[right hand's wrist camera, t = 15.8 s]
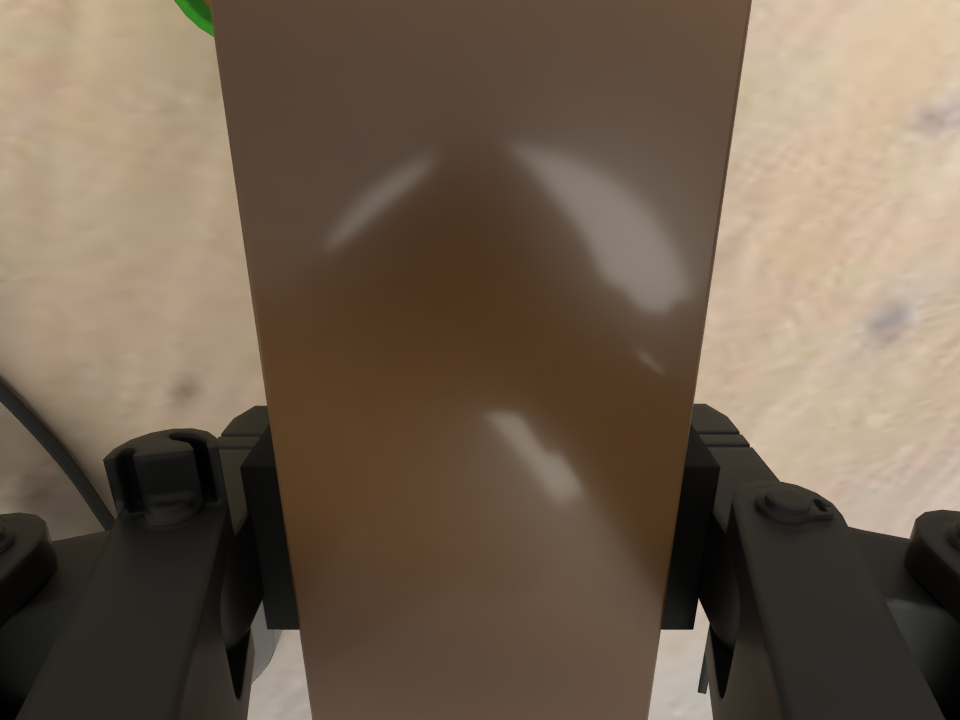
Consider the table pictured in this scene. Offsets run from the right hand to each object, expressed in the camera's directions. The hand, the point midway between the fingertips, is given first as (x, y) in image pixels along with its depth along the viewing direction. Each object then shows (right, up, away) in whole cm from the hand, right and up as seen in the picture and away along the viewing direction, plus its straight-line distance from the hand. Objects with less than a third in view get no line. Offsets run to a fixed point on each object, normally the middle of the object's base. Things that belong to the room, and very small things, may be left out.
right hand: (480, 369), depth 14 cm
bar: (0, -26, +11) cm, 28 cm away
